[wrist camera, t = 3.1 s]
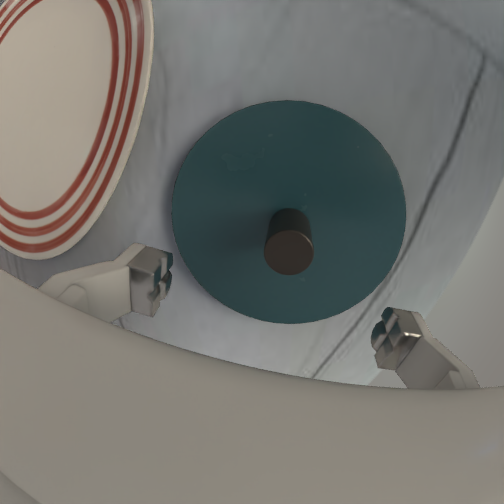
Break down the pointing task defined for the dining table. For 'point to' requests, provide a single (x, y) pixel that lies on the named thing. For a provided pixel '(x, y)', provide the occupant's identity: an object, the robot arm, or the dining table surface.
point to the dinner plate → (67, 114)
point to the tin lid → (288, 212)
